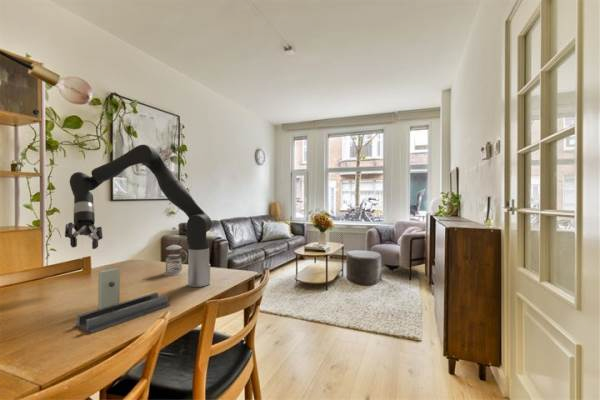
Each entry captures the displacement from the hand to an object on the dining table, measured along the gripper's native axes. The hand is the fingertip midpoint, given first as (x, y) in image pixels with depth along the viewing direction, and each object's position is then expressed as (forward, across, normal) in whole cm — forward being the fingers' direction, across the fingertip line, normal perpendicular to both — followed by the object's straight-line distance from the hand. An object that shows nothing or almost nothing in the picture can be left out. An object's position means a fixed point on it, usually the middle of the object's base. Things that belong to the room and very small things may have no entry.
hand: (84, 247), depth 121 cm
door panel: (+30, -4, -18) cm, 35 cm away
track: (+35, -6, -28) cm, 45 cm away
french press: (+14, +42, -8) cm, 45 cm away
